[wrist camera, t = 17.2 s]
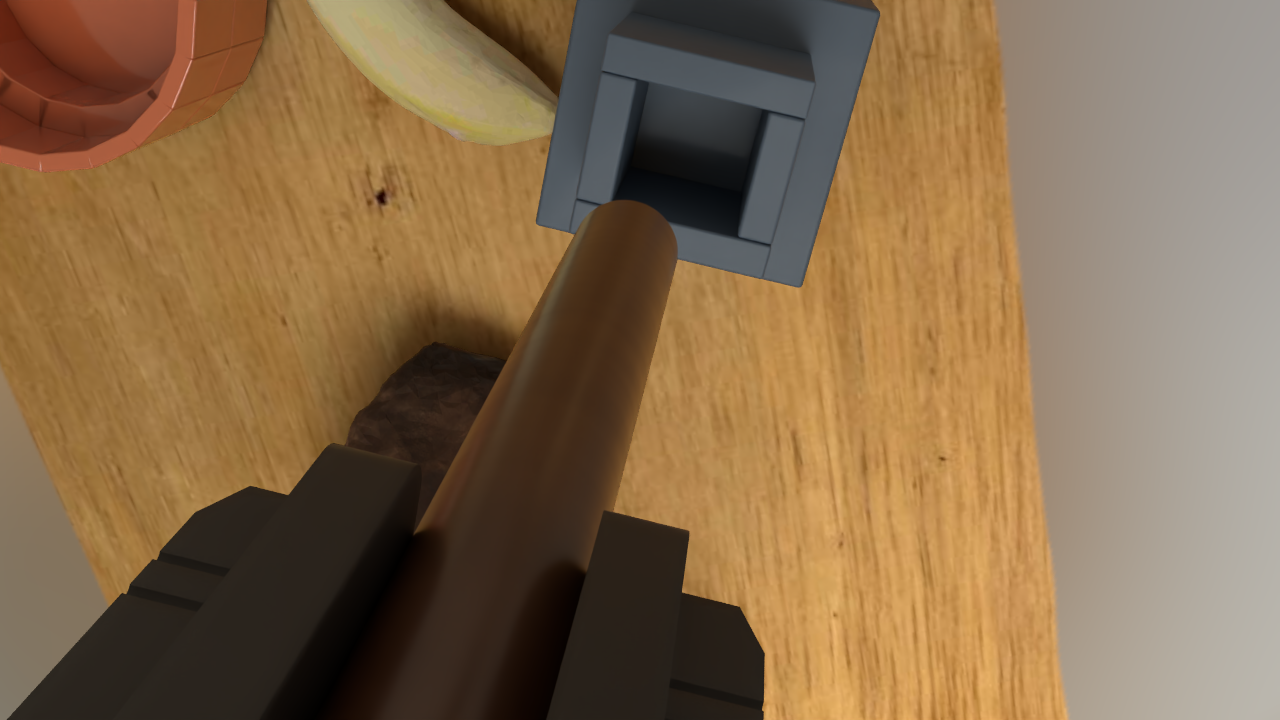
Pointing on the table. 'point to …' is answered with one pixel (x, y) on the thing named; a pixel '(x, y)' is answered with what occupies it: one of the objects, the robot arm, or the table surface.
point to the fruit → (441, 68)
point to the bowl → (116, 74)
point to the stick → (522, 497)
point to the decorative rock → (427, 412)
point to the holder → (709, 122)
